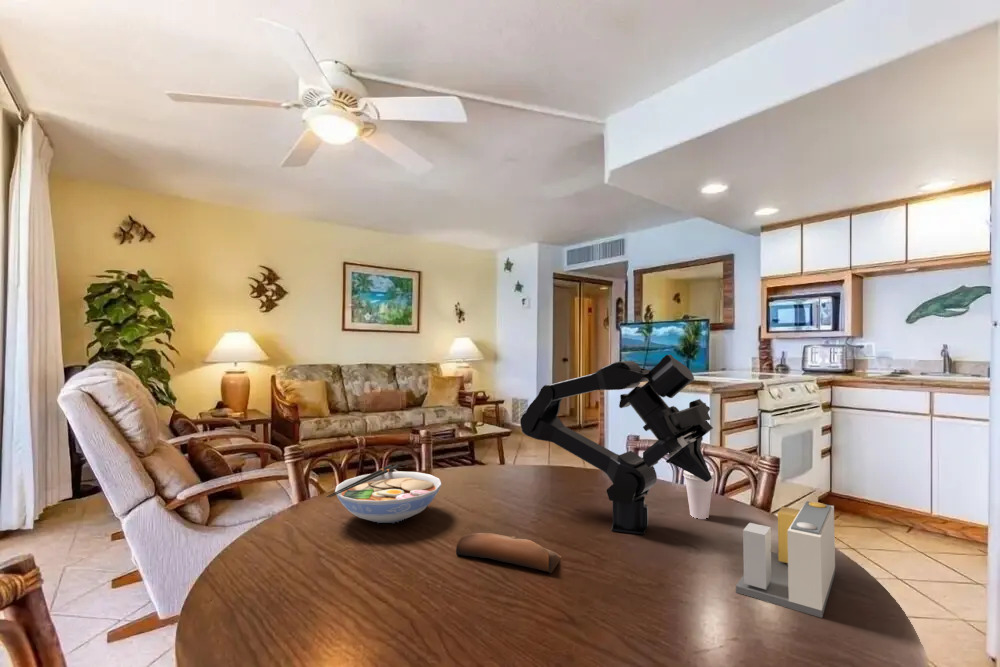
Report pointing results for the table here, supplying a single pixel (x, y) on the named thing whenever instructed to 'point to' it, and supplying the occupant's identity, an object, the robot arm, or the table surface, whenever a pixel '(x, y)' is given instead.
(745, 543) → the light grey block
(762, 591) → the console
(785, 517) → the amber block
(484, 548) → the sunglasses case
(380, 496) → the ramen bowl
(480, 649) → the table surface
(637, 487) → the robot arm
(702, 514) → the smoothie
